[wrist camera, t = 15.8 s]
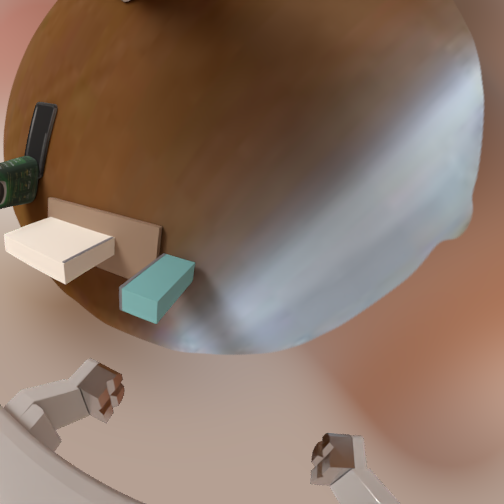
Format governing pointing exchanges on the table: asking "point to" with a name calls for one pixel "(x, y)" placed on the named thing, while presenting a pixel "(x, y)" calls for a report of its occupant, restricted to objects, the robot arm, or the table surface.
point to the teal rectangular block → (156, 287)
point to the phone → (40, 133)
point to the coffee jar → (18, 181)
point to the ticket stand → (84, 242)
